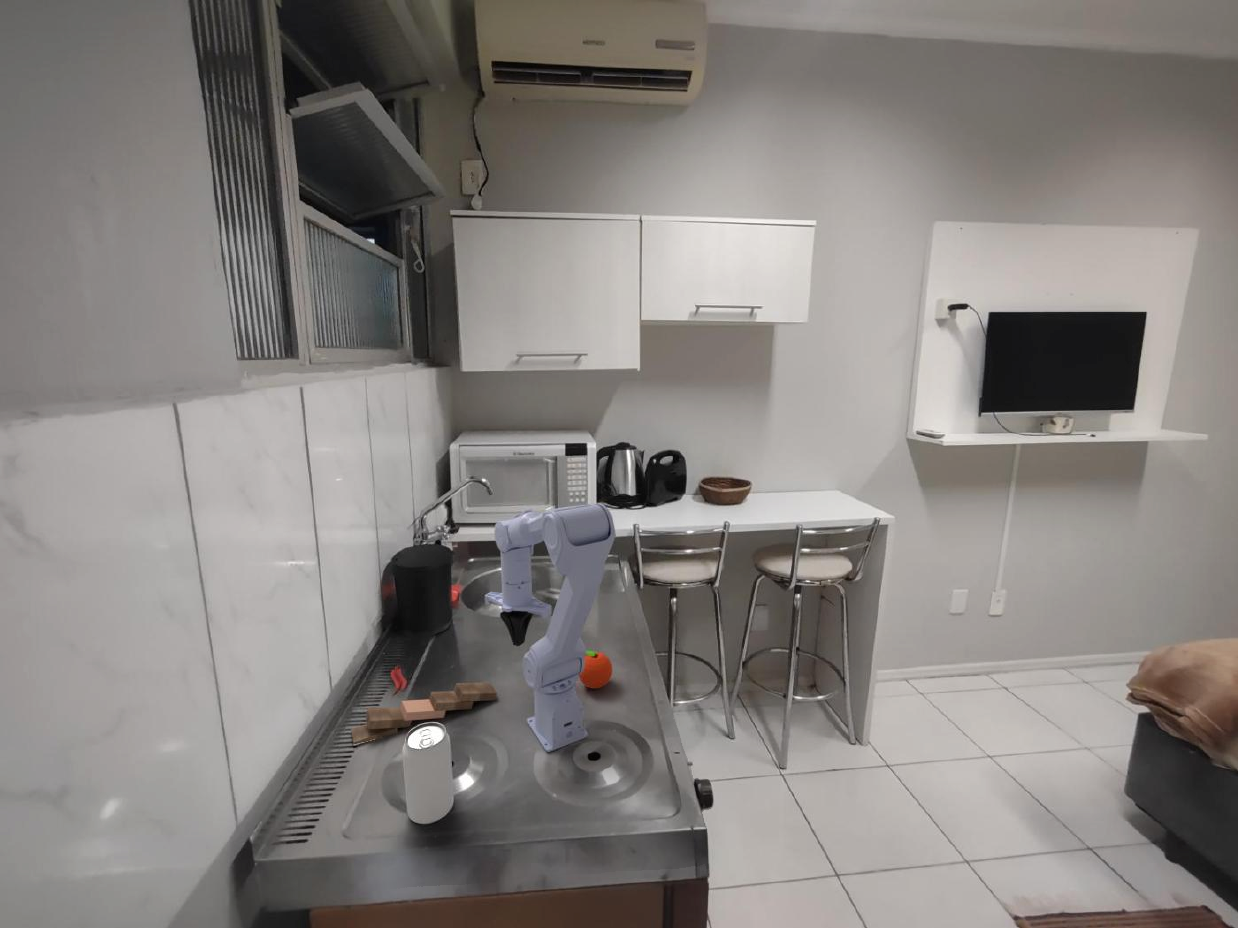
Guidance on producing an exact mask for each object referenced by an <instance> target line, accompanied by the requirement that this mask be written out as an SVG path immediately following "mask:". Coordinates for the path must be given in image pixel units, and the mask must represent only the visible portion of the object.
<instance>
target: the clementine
mask: <svg viewBox="0 0 1238 928" xmlns="http://www.w3.org/2000/svg"><path fill="white" fill-rule="evenodd" d="M586 651H587V652H586V655H585V666H584V670H583V672H582V673H581V674H578V679H580V682H581V683H582V684H583V686H585V687H587V688H590V689H601V688H603V687H604V686H606V685H607V684H608V682H609V681H610V680H611V677H612V674H613V665H612V662H611V661H610V658H609V657H608V656H607V655H606V654H605V653H602V652H599V651H594V650H586Z"/></svg>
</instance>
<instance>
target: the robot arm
mask: <svg viewBox="0 0 1238 928" xmlns="http://www.w3.org/2000/svg"><path fill="white" fill-rule="evenodd" d="M521 514H522V515H521ZM521 514H516V515H513V516H512V519H507V520H498V521H496V523H495V525H494V540H495V543H496V547H497V548H498V550H499V551H500V566H501V567H500V569H501V571H500V573H501V574H500V575H501V592H493V591H490V592H488V593H485V595H484V604H485V605H487V606H491V605H495V606H499V607H501V610H500V611H501V612H500V613H499V617H500V620H502V621H503V622H504V624H505V627H506V628H507V630H508V633H509V636H510V638H511V641H512V645H513V646H516V647H520V646H521V645H522V644H524V643H525V641H526V636H527V632H528V627H529V625H530V622H531V620H532V618H533V616H534V615H537V616H541V618H542V619H547V618H549V617H550V616H551V615H552V616H551V619H550V622H549V624H548V628H547V631H546V634H545V635H544V636H543V637H542V638H540V639H539V640H537V641H536V642H534V643H533V644H532V645H531V646H530V648H529V651H527V652H525V654H524V655H523V658H522V662H521V664H522V665H521V666H522V672H523V676H524V679H525V681H526V683H527V685H528V686H529V687H530V688H531V689H532V690H533V696H534V697H533V699H534V700H533V701H534V704H533V705H534V715H533V716H530V717H528V718H526V722H527V724H528V726H529V727H530V729H531V730H532V732H533V733H534V735H535V737H536V738H537V740H538V741H539V743H540V745H541V746H542V747H543V749H544V750H545V752H547V753H550V752H552V751H555V750H556V749H560V748H562V747H565V746H568V745H569V744H570V745H571V744H572V743H575V742H578V741H580V740H583V739H586V738H588V737H589V732H588V731H587V730H586V728H585V726H584V705H583V702H582V700H581V699H580V698H579V696H578V694H577V692H576V691H577V690H576V682H578V681H579V674H581V673H582V672H583V670H584V666H585V655H587V654H586V652H587V651H588V650H587V648H586V646H585V643H584V642H583V641H584V640H582V638H581V635H582V634H583V633H582V632H583V631H584V627H585V625H586V622H587V620H588V618H589V615H590V612H591V610H592V607H593V605H594V602H595V600H596V597H597V595H598V592H599V589H600V587H601V585H602V581H603V576H604V571H605V564H606V561H607V559H608V557H609V554H610V552H611V549H612V547H613V543H614V542H615V539H616V537H617V536H616V535H617V534H616V529H615V523H614V519H613V515H612V513H611V512H610V510H609V508H608V507H607V506H606V505H605V504H603V503H600V502H597V503H593V504H592V505H591V504H581V505H571V506H564V507H557V508H551V509H547V510H545V511H543V512H542V513H540V512H537V511H533V509H526V510H522V511H521ZM542 542H544V543H545V544H544V545H545V546H546V549H547V552H548V554H549V558H550V561H551V563H552V565H553V567H554V570H555V573H558V574H561V575H562V576H563V575H564V576H565V577H564V580H563V583H562V586H561V589H560V592H559V595H558V597H557V601H556V604H555V607H554V610H553V613H552V605H551V604H548V603H545V602H543V601H541V600H539V599H538V598H535V597H534V596H533V590H532V589H533V588H532V587H533V583H532V556H533V555H534V546H535V545H538V544H540V543H542Z"/></svg>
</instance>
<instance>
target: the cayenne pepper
mask: <svg viewBox="0 0 1238 928" xmlns="http://www.w3.org/2000/svg"><path fill="white" fill-rule="evenodd" d="M398 666H400V665H396V666H395V668H394V669H395V670H393V669H392V670H391V671H390V679H391V680H392V682H393V681H394V682H393V683H394V686H395V689H396V688H398V689H397V690H396V692H397V691H399V690H400V689H401V688H402V689H401V690H403V689H404V690H405V688H406V687H407V683H408V681H407V679H406V678H405V677H404V676H403V674H402V668H401V669H398ZM400 667H401V666H400ZM404 690H403V691H404ZM396 692H395V691H394V693H393V694H392V695H393V696H395V695H396V694H397V693H396ZM395 693H396V694H395ZM394 694H395V695H394Z"/></svg>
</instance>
